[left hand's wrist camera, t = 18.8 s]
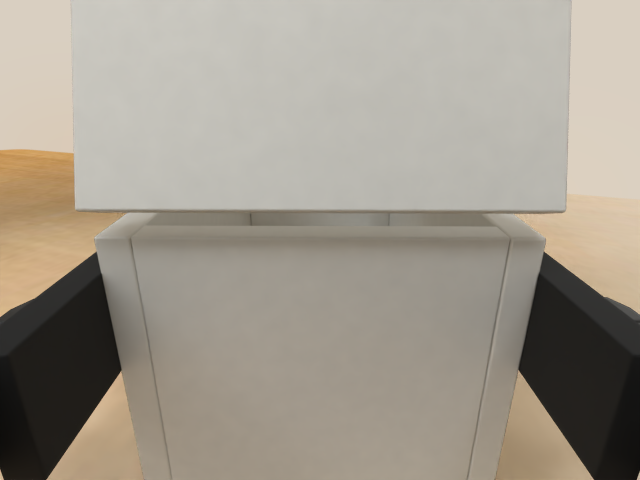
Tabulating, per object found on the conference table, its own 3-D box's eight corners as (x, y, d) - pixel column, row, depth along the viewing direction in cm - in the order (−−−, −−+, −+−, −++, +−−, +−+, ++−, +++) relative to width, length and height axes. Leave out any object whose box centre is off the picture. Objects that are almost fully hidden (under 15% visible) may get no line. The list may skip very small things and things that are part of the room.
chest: (243, 269, 28) (234, 134, 25) (396, 270, 28) (406, 134, 25) (149, 512, 13) (92, 236, 9) (489, 513, 13) (548, 238, 9)
